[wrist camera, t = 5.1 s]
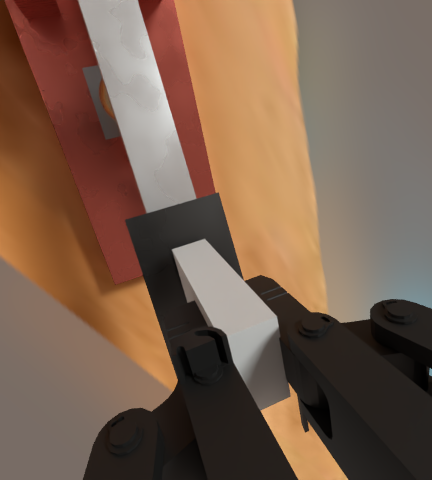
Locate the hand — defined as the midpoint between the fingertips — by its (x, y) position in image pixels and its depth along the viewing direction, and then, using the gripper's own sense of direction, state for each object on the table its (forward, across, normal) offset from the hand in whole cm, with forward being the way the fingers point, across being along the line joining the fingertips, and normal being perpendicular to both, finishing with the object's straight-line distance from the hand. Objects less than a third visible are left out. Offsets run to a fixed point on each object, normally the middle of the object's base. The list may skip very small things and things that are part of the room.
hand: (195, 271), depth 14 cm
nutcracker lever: (+5, 0, +6) cm, 7 cm away
